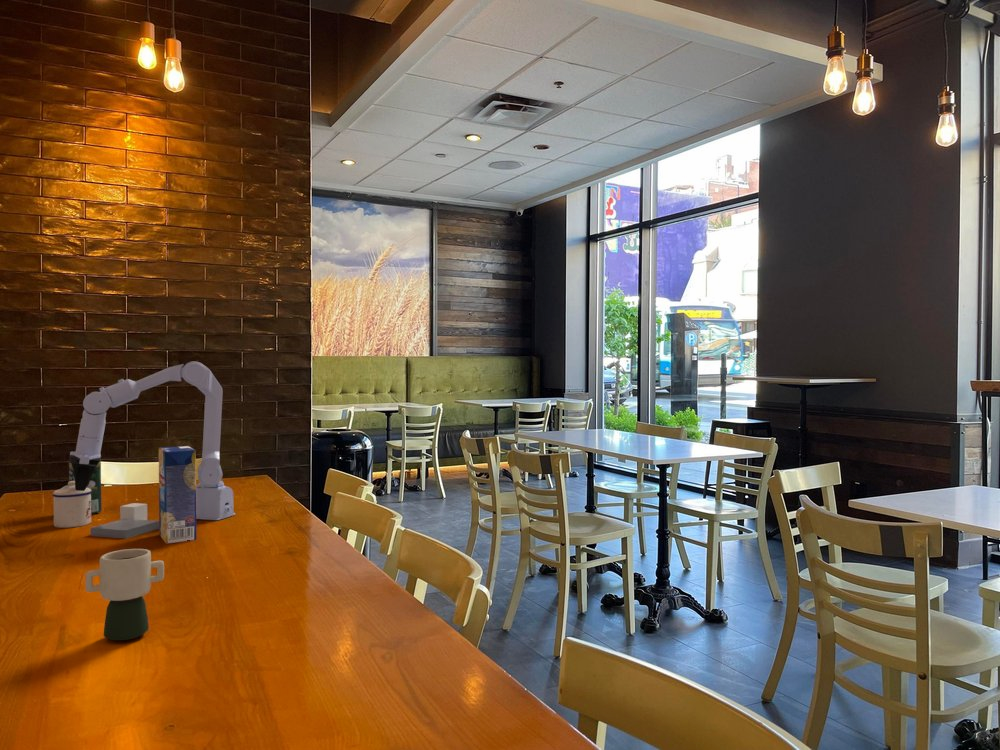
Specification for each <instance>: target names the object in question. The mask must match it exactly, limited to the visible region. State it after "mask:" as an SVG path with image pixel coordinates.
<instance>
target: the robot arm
mask: <svg viewBox="0 0 1000 750" xmlns="http://www.w3.org/2000/svg"><path fill="white" fill-rule="evenodd" d="M182 379H183V380H184V381H185V382H186V383H188V384H190V385H191V386H194V387H196V388H197V389H198V390H199V391H200V392H201V393H202V394H203V395H204V396H205V397H204V398H205V399H204V415H203V418H204V419H203V433H202V434H203V437H202V438H203V439H202V453H201V462H200V464H199V465H198V468H197V478H198V481H199V482H198V483H196V520H206V521H220V520H223V519H227V518H229V517H233V516H235V515H236V513H235V511H234V508H235V507H234V490H233V489H232V488H231V487H229V486H226V485H225V483H224V481H223V480H222V478H223V470H222V467H221V464H220V460H221V459H220V458H221V457H220V454H221V453H220V452H221V451H220V449H221V430H222V428H221V427H222V415H223V414H222V412H223V410H222V409H223V387H222V385H221V384H220V383H219V381H218V380H217V378H216V377H215V375H214V374H213V372H212V371H211V369H209V367H207V366H206V365H204V364H203V363H201V362H199V361H195V360H194V361H189V362H186V364H184V363H182V364H177V365H173V366H170V367H167V368H164V369H162V370H160V371H157V372H154V373H153V374H150V375H148V376H146V377H143V378H140V379H139V380H132V379H129V378H128V379H125V380H124V378H121V379H118V380H117V382H116V383H114V384H111V385H109V386H106V387H104V386H102V387H100V388H99V391H92V392H90V393H89V394H87V395H85V397H84V399H83V402H82V407H83V408H84V409H83V411H82V418H81V419H80V424H79V429H78V436H77V442H76V446H75V447H76V448H75V451H76V452H74V451H70V453H69V455H74V456H76V457H78V458H80V459H76V462H72V467H73V470H74V474H75V489H76V490H79V491H85V489H86V487H87V486H88V485H89V482H90V480H91V477H92V474H93V472H94V470H95V468H96V466H97V465H98V463H99V462H100V460H99V459H96V458H100V457H102V454H101V451H102V445H103V440H104V436H105V435H104V433H105V428H106V423H107V421H106V418H107V411H108V410H109V408H113V409H114V408H117V407H120V406H122V405H124V404H127V403H130V402H132V401H135V400H137V399H138V398H139V396H140V394H141V392H144V391H146V390H149V389H151V388H153V387H157V386H160V385H162V384H165V383H167V382H182Z"/></svg>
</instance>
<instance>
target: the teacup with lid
mask: <svg viewBox="0 0 1000 750" xmlns="http://www.w3.org/2000/svg"><path fill="white" fill-rule="evenodd" d="M91 493H92V491H91V489H90V488H86V489H85V491H79V490H76V489H75V481H69V480H68V482H67V485H65V486H63V487H61V488H59V489H57V490H54V491H53V493H52V497H53V526H54V528H58V529H59V528H61V529H67V528H69V529H70V528H77V527H83V526H87V525H89V524H90V523H92V515H91Z"/></svg>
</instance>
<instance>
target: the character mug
mask: <svg viewBox="0 0 1000 750" xmlns="http://www.w3.org/2000/svg"><path fill="white" fill-rule="evenodd" d="M151 553H152V552H151V550H149V549H146V548H145V549H144V548H130V549H129V548H128V549H119V550H115V551H110V552H107V553H105V554H103V555H101V556H100V557H99V569H92V570H89V571H86V573H85V590H86V593H95V592H99V594H100V596H101V598H102V599H104V600H107V601H108V605H107V607H106V613H105V620H104V627H103V637H104V638H106V639H108V640H112V641H127V640H131V639H136V638H138V637H140V636H142V635H144V634H145V633H147V632H148V631H149V627H150V626H149V625H150V624H149V619H148V618H149V616H148V611H147V606H146V600H145V598H144V597H143V596H145V595H148V593H149V592H150V591H151V587H152V583H156V582H160V581H163V580H164V578H165V563H164V561H163V560H155V561H152V554H151ZM152 568H157V570H156V571H157V572H156V573H157V575H152ZM97 576H98V577H99V584H94V577H97Z"/></svg>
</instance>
